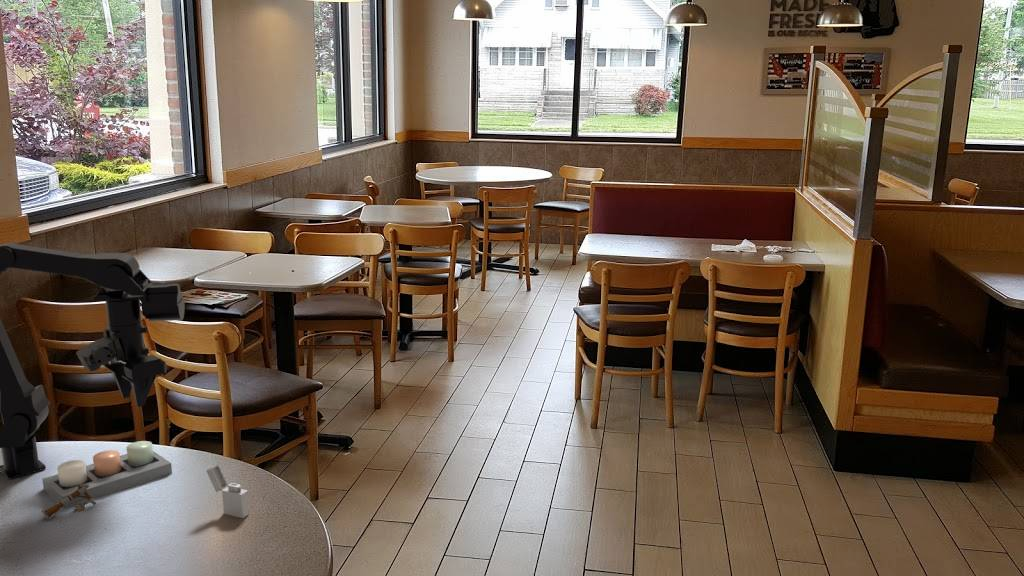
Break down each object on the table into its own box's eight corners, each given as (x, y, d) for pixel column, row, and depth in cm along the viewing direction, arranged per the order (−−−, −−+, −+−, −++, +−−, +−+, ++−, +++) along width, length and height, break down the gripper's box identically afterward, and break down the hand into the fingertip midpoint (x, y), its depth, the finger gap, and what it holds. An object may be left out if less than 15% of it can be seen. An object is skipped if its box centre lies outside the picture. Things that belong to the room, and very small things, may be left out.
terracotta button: (90, 470, 159) (89, 455, 158) (115, 463, 162) (113, 448, 161) (100, 478, 156) (98, 462, 155) (125, 470, 159) (123, 455, 158)
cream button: (55, 481, 154) (53, 465, 154) (81, 473, 157) (79, 458, 157) (64, 489, 151) (62, 473, 151) (91, 481, 154) (89, 465, 154)
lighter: (249, 513, 147) (246, 469, 145) (243, 518, 146) (239, 473, 144) (216, 506, 150) (212, 462, 148) (209, 510, 148) (205, 466, 146)
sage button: (124, 460, 163) (122, 445, 162) (147, 453, 166) (145, 439, 165) (134, 467, 160) (132, 452, 159) (157, 460, 163) (156, 445, 162)
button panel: (43, 488, 156) (42, 478, 155) (148, 457, 169) (147, 447, 169) (64, 507, 149) (62, 496, 149) (172, 472, 162) (171, 463, 162)
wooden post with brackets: (102, 501, 149) (87, 482, 147) (57, 532, 146) (42, 513, 144) (99, 497, 151) (85, 478, 149) (55, 528, 147) (39, 508, 145)
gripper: (60, 321, 162) (70, 400, 165) (99, 341, 149) (109, 427, 153) (121, 310, 169) (129, 386, 173) (163, 328, 157) (171, 410, 160)
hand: (133, 402), depth 165 cm, fingers open, 6 cm apart
